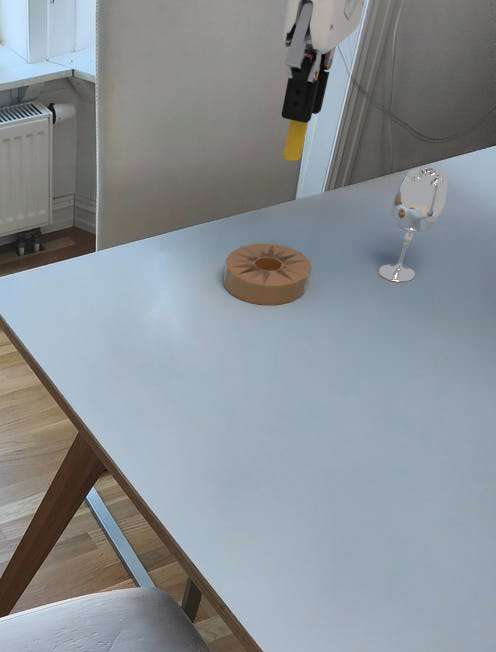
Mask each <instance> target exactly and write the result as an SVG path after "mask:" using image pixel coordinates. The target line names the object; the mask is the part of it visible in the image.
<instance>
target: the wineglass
mask: <svg viewBox="0 0 496 652" xmlns="http://www.w3.org/2000/svg"><path fill="white" fill-rule="evenodd" d="M448 185H449V176H448V175H447V174H446V173H445V172H444V171H442V170H439V169H437V168H432V167H431V168H430V167H415V168H412V169H410V170H408V172H407V173H406V175H405V177H404V178H403V180H402V182H401V184H400V186H399V187H398V190H397V192H396V195H395V197H394V200H393V203H392V209H391V217H392V220H393V222H394V224H395V225H396V226H397V227H398V228H399V229H400V230H403V231H405V232H406V233H404V236H403V237H402V238H403V239H402V249H401V253H400V256H399V258H398V261H397V263H386V264H383V265H381V266H380V267H379V269H378V274H379V275H380V277H382V278H383V279H385V280H388V281H390V282H395V283H405V282H411V281H412V280H413V279H414V278H415V277H416V272H415V270H414V269H413V268H411V267H410V266H408V265H404V263H403V261H404V258H405V254H406V251H407V249H408V248H409V245H410V243H412V241H413V237H414V234H413V233H419V232H424V231H427V230H429V229H431V228H432V227H434V225H435V224H436V223H437V222H438V221H439V219H440V218H441V216H442V213H443V211H444V208H445V205H446V201H447V196H448Z"/></svg>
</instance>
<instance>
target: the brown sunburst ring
mask: <svg viewBox="0 0 496 652" xmlns="http://www.w3.org/2000/svg"><path fill="white" fill-rule="evenodd" d="M311 265H312V264H311V261H310V259H309V258H307V257H306V255H304V254H303V253H302V252H300V251H298V250H297V249H294V248H291V247H289V246H285V245H279V244H277V243H276V244H275V243H253V244H248V245H243V246H240V247H238V248H236V249H234V250H233V251H231V252H230V253H229V255H228V256H227V257H226V259H225V263H224V270H223V275H222V276H223V277H222V278H223V280H222V284H223V286H224V288H225V290H226V291H227V292H228V293H229V294H230V295H231V296H232V297H235V298H236V299H239V300H240V301H243V302H246V303H249V304H254V305H261V306H278V305H284V304H288V303H291V302H294V301H296V300H297V299H300V298H301V297H302V296H303V295H304V294H305V292H306V290H307V288H308V285H309V281H310V277H311V273H312V266H311Z"/></svg>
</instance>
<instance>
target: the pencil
mask: <svg viewBox="0 0 496 652" xmlns="http://www.w3.org/2000/svg"><path fill="white" fill-rule="evenodd" d="M306 56H307V57H310V60H311V61H312V56H313V55H309V54H306ZM320 63H321V59H320ZM319 70H320V64H319V69H318V73H317V77H316V80H317V79H318V74H319ZM308 125H309V121H308V122H307V123H303V122H299V121H294V120H290V119H289V123H288V128H287V133H286V138H285V143H284V149H283V153H282V159H284V160H286V161H291V162H295V161H299V160H300V159H301V157H302V154H303V149H304V145H305V139H306V135H307V130H308Z"/></svg>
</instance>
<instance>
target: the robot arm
mask: <svg viewBox="0 0 496 652" xmlns="http://www.w3.org/2000/svg"><path fill="white" fill-rule="evenodd" d="M364 4H365V0H287V6H286V9H285V10H286V11H285V17H284V21H283V22H284V23H283V29H282V43H283V45H284V47H286V48H289V49H288V52H287V55H286V59H285V65H286V66H287V67H288V71H287V72H288V73H287V78H288V79H287V82H286V89H285V93H284V94H285V95H284V99H283V105H282V110H281V117H282V118H283V119H286V120H289V121H290V120H294V121H299V122H303V123H307V122H308V123H309V122H310V121H311V120H312V116H313V115H318V114H319V113H320V112H321V111H322V107H323V103H324V99H325V95H326V94H325V93H326V90H327V86H328V80H329V78H330V77H329V76H330V70H331V68H332V65H333V61H334V56H335V54H336V53H335V52H336V47H337V46H338V45H340V43H342V42H344V40H346V39H347V38H348V37H349V36H350V35H352V34H353V33H354V32H355V31H356V30H357V28H358V27H359V25H360V22H361V18H362V12H363V8H364ZM306 54H309V55H313V56H312V61H311V60H310V57H307V56H306ZM320 59H321V63H320ZM319 64H320V70H319V74H318V79H317V80H316V77H317V73H318V69H319Z"/></svg>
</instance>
